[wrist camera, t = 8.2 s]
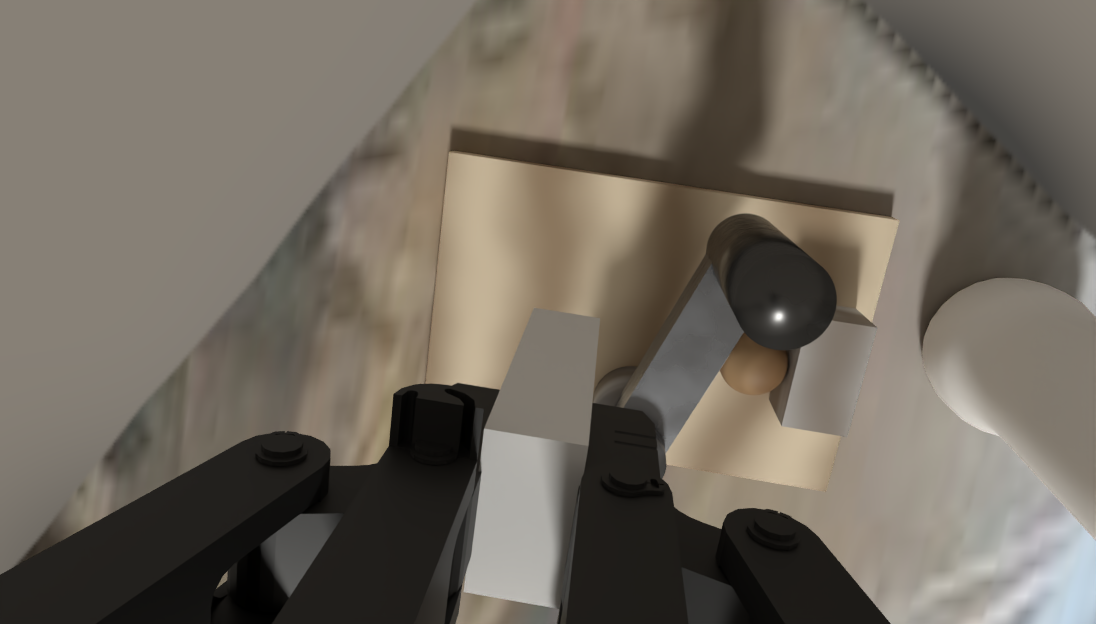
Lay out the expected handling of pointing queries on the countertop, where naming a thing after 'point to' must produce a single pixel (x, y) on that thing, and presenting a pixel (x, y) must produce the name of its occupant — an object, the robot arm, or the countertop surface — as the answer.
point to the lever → (729, 319)
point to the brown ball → (754, 367)
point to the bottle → (1024, 379)
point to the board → (649, 299)
